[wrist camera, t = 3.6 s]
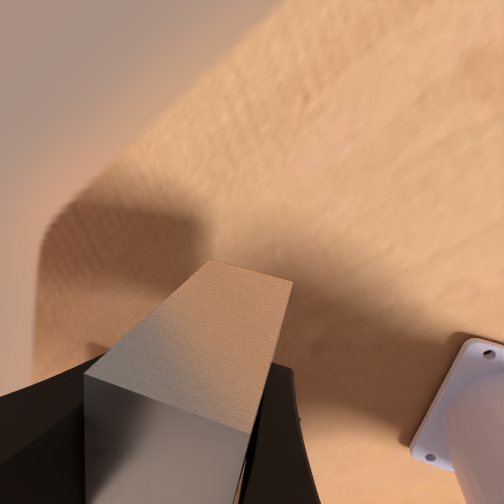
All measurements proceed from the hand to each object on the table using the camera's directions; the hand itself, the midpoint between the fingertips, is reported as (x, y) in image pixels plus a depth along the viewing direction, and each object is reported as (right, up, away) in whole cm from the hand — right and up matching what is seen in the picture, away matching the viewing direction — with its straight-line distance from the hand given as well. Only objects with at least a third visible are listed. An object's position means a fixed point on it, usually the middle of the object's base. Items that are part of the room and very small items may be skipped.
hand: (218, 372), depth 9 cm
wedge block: (+1, +1, +2) cm, 2 cm away
